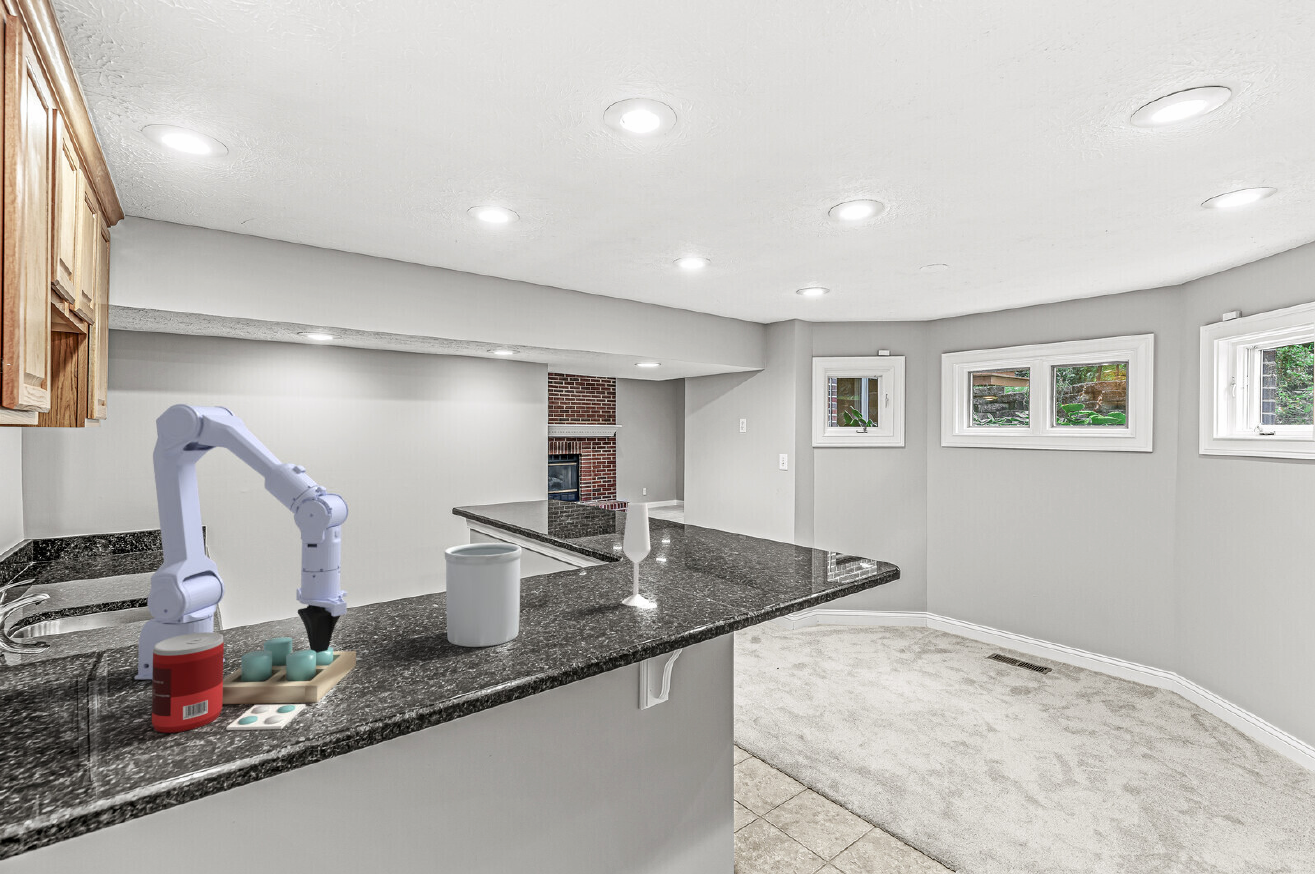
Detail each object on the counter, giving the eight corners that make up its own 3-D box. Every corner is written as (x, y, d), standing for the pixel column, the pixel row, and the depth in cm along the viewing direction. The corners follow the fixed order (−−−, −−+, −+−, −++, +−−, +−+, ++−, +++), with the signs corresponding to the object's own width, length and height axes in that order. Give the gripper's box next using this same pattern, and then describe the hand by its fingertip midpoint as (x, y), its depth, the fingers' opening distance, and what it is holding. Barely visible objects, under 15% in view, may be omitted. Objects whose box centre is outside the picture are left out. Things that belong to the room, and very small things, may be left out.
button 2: (258, 666, 101) (258, 645, 101) (271, 658, 105) (271, 637, 105) (284, 666, 102) (285, 644, 102) (296, 657, 106) (296, 637, 106)
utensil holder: (426, 643, 121) (428, 551, 121) (471, 621, 135) (473, 540, 135) (494, 652, 117) (496, 557, 117) (533, 629, 131) (535, 544, 131)
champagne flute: (633, 607, 149) (636, 505, 149) (616, 601, 154) (618, 503, 154) (655, 602, 154) (657, 504, 154) (637, 597, 159) (638, 501, 158)
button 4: (300, 676, 102) (301, 654, 102) (312, 667, 106) (312, 646, 106) (326, 676, 102) (327, 654, 102) (336, 667, 106) (337, 646, 106)
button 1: (235, 682, 95) (235, 659, 95) (249, 672, 99) (250, 650, 99) (263, 682, 95) (263, 659, 95) (276, 672, 99) (277, 650, 99)
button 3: (280, 682, 96) (281, 659, 96) (293, 672, 100) (293, 650, 100) (308, 681, 96) (308, 658, 96) (320, 671, 100) (320, 649, 100)
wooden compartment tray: (209, 704, 93) (210, 687, 93) (264, 666, 107) (264, 651, 107) (317, 702, 94) (317, 685, 94) (355, 665, 109) (356, 650, 109)
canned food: (234, 708, 91) (236, 632, 91) (196, 734, 83) (197, 650, 83) (180, 707, 91) (181, 631, 91) (136, 733, 83) (138, 650, 83)
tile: (226, 730, 85) (226, 725, 85) (254, 707, 92) (254, 703, 92) (281, 728, 85) (281, 724, 85) (305, 706, 92) (305, 702, 92)
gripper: (366, 571, 103) (364, 654, 103) (327, 558, 112) (325, 635, 112) (320, 578, 97) (319, 666, 97) (283, 564, 106) (282, 645, 106)
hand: (319, 650), depth 104 cm, fingers closed, pressing on button 4
